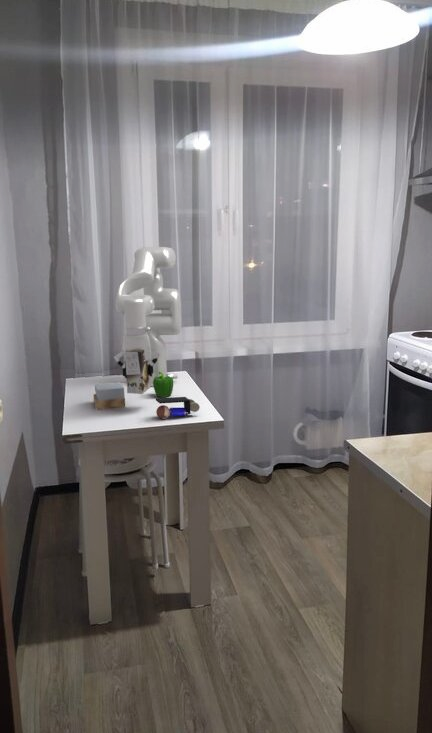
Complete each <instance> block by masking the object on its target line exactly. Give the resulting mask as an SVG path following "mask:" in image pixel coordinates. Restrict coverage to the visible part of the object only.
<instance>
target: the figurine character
mask: <svg viewBox="0 0 432 733" xmlns="http://www.w3.org/2000/svg"><path fill="white" fill-rule="evenodd" d="M155 401H156V402H157V403H158V404H160V406H158V407H157V408H156V412H155V414H156V415H157V417H158V418H159V419H161V420H164V419H167V418H169V417H193V416H194V415H192V414H191V412H193V413H196V412H198V411H199V410H200V408H201V407H200V404H199V403H198V402H196V401H195V400H193V399H191V398H188V397H186V396H176V397H158V398H155ZM176 403H183V407H169V406H167V405H165V404H176ZM161 404H162V405H161Z"/></svg>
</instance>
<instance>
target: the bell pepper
mask: <svg viewBox="0 0 432 733" xmlns="http://www.w3.org/2000/svg"><path fill="white" fill-rule="evenodd" d="M159 374H161V375H162V376H159V377H154V380H153V386H154V387H153V389H154V390H153V391H154V393H155V395H156V396H157V397H158V398H168V397H170V396H172V394H173V391H174V379H172V378H171V377H170V376H167V377H164V374H163V373H162V372H159Z"/></svg>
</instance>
